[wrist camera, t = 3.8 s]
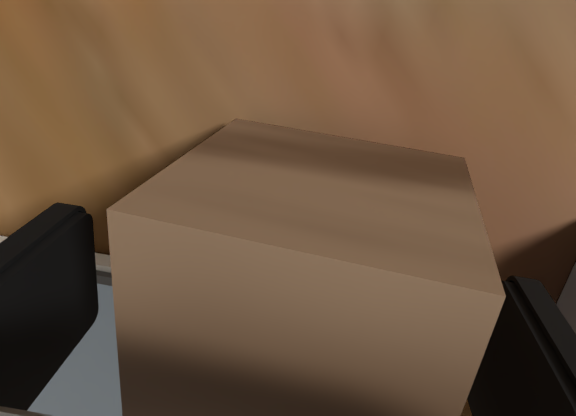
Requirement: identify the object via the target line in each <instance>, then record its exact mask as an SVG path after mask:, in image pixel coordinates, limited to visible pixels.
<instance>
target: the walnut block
mask: <svg viewBox="0 0 576 416" xmlns="http://www.w3.org/2000/svg"><path fill="white" fill-rule="evenodd" d="M106 210H107V223H108V236H109V249H110V262H111V275H112V288H113V301H114V314H115V327H116V339H117V352H118V365H119V378H120V391H121V404H122V416H461V413H462V411H463V408H464V406H465V403H466V400H467V398H468V395H469V392H470V390H471V387H472V385H473V382H474V379H475V377H476V374H477V371H478V369H479V366H480V363H481V361H482V358H483V356H484V353H485V350H486V348H487V345H488V342H489V340H490V337H491V335H492V332H493V329H494V327H495V324H496V321H497V319H498V316H499V314H500V311H501V308H502V306H503V303H504V300H505V298H506V295H505V292H504V288H503V285H502V282H501V278H500V275H499V272H498V268H497V265H496V262H495V258H494V255H493V252H492V248H491V245H490V242H489V238H488V235H487V232H486V228H485V225H484V222H483V218H482V215H481V212H480V208H479V205H478V202H477V198H476V195H475V192H474V188H473V185H472V182H471V178H470V175H469V172H468V168H467V165H466V162H465V158H462V157H456V156H450V155H445V154H439V153H433V152H427V151H421V150H415V149H410V148H404V147H398V146H392V145H386V144H380V143H375V142H369V141H363V140H357V139H351V138H346V137H340V136H334V135H328V134H322V133H316V132H311V131H305V130H299V129H293V128H287V127H282V126H276V125H270V124H264V123H258V122H252V121H247V120H241V119H235V120H233V121H232V122H230V123H229V124H228V125H226V126H225V127H223V128H222V129H220V130H219V131H218V132H216V133H215V134H213V135H212V136H210V137H209V138H208V139H206V140H205V141H203V142H202V143H200V144H199V145H198V146H196V147H195V148H193V149H192V150H190V151H189V152H188V153H186V154H185V155H183V156H182V157H180V158H179V159H178V160H176V161H175V162H173V163H172V164H170V165H169V166H167V167H166V168H165V169H163V170H162V171H160V172H159V173H157V174H156V175H155V176H153V177H152V178H150V179H149V180H147V181H146V182H145V183H143V184H142V185H140V186H139V187H137V188H136V189H135V190H133V191H132V192H130V193H129V194H127V195H126V196H125V197H123V198H122V199H120V200H119V201H117V202H116V203H115V204H113V205H112V206H110V207H109V208H107V209H106Z"/></svg>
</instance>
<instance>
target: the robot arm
mask: <svg viewBox="0 0 576 416" xmlns="http://www.w3.org/2000/svg"><path fill="white" fill-rule="evenodd" d="M501 282H502V285H503V288H504V292H505V295H506V298H505V300H504V303H503V306H502V308H501V311H500V314H499V316H498V319H497V321H496V324H495V327H494V329H493V332H492V335H491V337H490V340H489V342H488V345H487V348H486V350H485V353H484V356H483V358H482V361H481V363H480V366H479V369H478V371H477V374H476V377H475V379H474V382H473V385H472V387H471V390H470V392H469V395H468V398H467V399H468V402H469V406H470V409H471V412H472V416H576V333H575V332H574V330H573V329H572V327H571V326H570V324H569V323H568V322H567V320H566V319H565V317H564V316H563V314H562V313H561V311H560V310H559V308H558V307H557V305H556V304H555V302H554V301H553V299H552V298H551V296H550V295H549V293H548V292H547V290H546V289H545V287H544V286H543V284H542V283H541V282H540V281H539V280H536V279H529V278H523V277H517V276H510V277H508V278H507V279H506V281H501ZM98 310H99V305H98V290H97V276H96V261H95V247H94V232H93V220H92V216H91V215H90V214H87V213H86V211H85V209H84V208H83V207H82V206H76V205H70V204H63V203H55V204H53V205H52V206H51V207H49V208H48V209H46V210H45V211H44V212H42V213H41V214H39V215H38V216H37V217H35V218H34V219H33V220H31V221H30V222H28V223H27V224H26V225H24V226H23V227H21V228H20V229H19V230H17V231H16V232H14V233H13V234H12V235H10V236H9V237H8V238H6V239H5V240H3V241H2V242H1V243H0V416H53V415H48V414H42V413H37V412H31V411H27V410H28V409H29V407H30V406H31V405H32V403H33V402H34V401H35V399H36V398H37V397H38V396H39V394H40V393H41V392H42V390H43V389H44V388H45V386H46V385H47V384H48V382H49V381H50V380H51V379H52V377H53V376H54V375H55V373H56V372H57V371H58V369H59V368H60V367H61V365H62V364H63V363H64V362H65V360H66V359H67V358H68V356H69V355H70V354H71V352H72V351H73V350H74V348H75V347H76V346H77V345H78V343H79V342H80V341H81V339H82V338H83V337H84V335H85V334H86V333H87V331H88V330H89V329H90V328H91V326H92V325H93V324H94V322H95V320H96V318H97V315H98Z"/></svg>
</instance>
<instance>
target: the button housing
mask: <svg viewBox="0 0 576 416" xmlns="http://www.w3.org/2000/svg"><path fill="white" fill-rule="evenodd" d="M556 305H557V307H558V308H559V310H560V311H561V313H562V314H563V316H564V317H565V319H566V320H567V322H568V323H569V324H570V326H571V327H572V329H573V330H574V332H575V333H576V262H575V264H574V267H573V269H572V271H571V273H570V275H569V278H568V280H567V282H566V284H565V286H564V288H563V291H562V293H561V295H560V297H559V299H558V302H557V304H556Z"/></svg>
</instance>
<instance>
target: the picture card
mask: <svg viewBox="0 0 576 416" xmlns="http://www.w3.org/2000/svg"><path fill="white" fill-rule="evenodd" d="M6 238H8V237H5V236H0V243H1V242H2V241H3V240H5V239H6ZM95 261H96V276H97V290H98V305H99V310H98V315H97V318H96V320H95V322H94V324H93V325H92V326H91V328H90V329H89V330H88V331H87V333H86V334H85V335H84V337H83V338H82V339H81V341H80V342H79V343H78V345H77V346H76V347H75V348H74V350H73V351H72V352H71V354H70V355H69V356H68V358H67V359H66V360H65V362H64V363H63V364H62V365H61V367H60V368H59V369H58V371H57V372H56V373H55V375H54V376H53V377H52V379H51V380H50V381H49V382H48V384H47V385H46V386H45V388H44V389H43V390H42V392H41V393H40V394H39V396H38V397H37V398H36V399H35V401H34V402H33V403H32V405H31V406H30V407H29V409H28V410H27V411H31V412H37V413H42V414H48V415H53V416H122V404H121V391H120V378H119V365H118V352H117V339H116V327H115V314H114V301H113V288H112V275H111V262H110V255H106V254H101V253H95Z"/></svg>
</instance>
